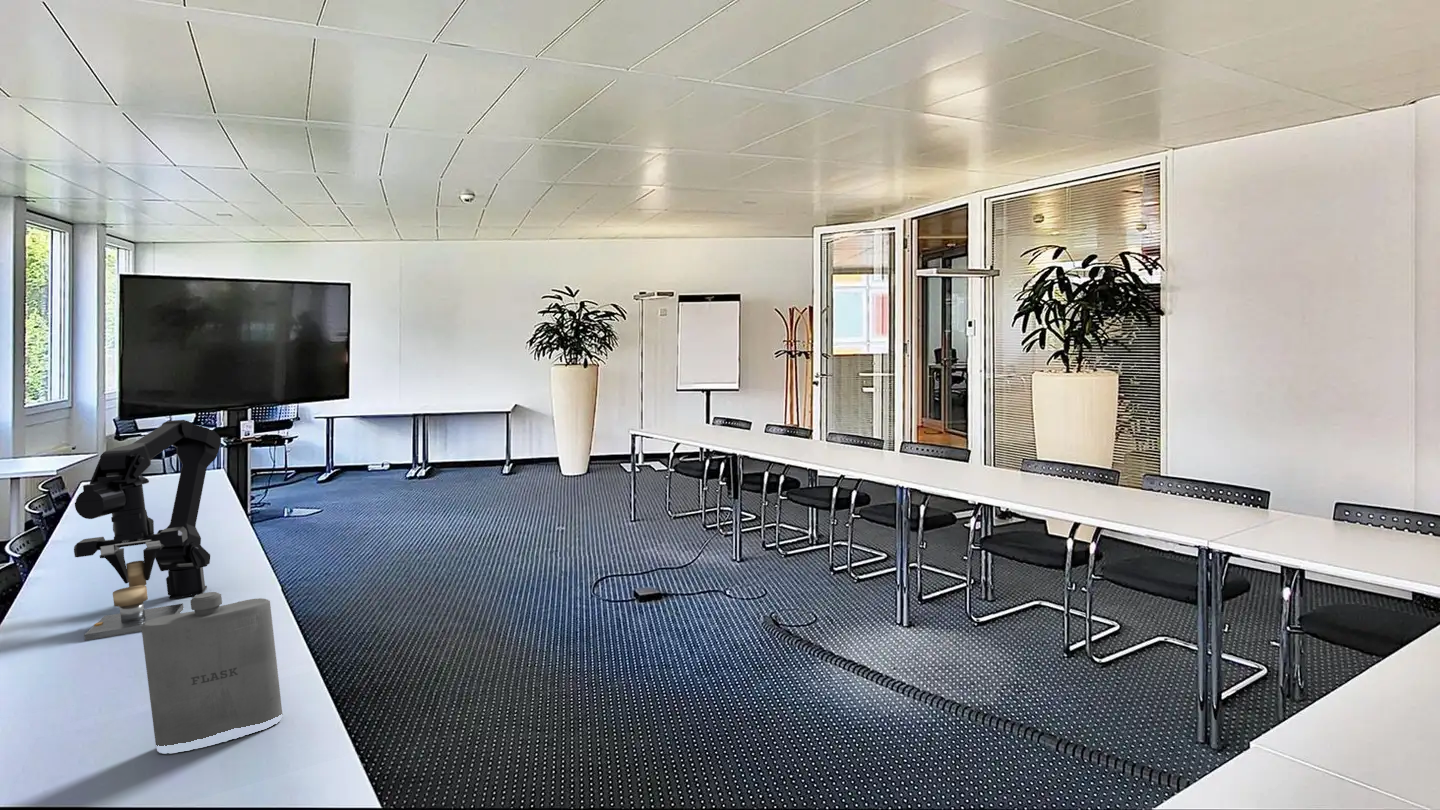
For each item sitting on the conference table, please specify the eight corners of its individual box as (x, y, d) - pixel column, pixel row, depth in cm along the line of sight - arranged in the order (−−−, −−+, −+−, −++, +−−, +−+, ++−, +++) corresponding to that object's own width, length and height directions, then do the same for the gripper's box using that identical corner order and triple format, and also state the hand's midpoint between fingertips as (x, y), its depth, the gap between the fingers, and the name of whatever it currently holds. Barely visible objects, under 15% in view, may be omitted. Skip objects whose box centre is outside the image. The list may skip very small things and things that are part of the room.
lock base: (183, 608, 175) (181, 588, 175) (169, 626, 163) (167, 605, 163) (105, 621, 169) (102, 600, 169) (84, 640, 158) (82, 618, 157)
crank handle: (143, 603, 164) (139, 569, 164) (110, 608, 162) (106, 574, 161) (156, 590, 174) (152, 558, 173) (125, 595, 171) (121, 563, 171)
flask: (155, 762, 105) (136, 612, 104) (157, 745, 110) (140, 601, 109) (284, 727, 113) (269, 587, 112) (281, 712, 118) (266, 578, 117)
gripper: (188, 497, 181) (196, 565, 182) (86, 508, 174) (95, 580, 175) (177, 504, 171) (186, 577, 172) (68, 517, 163) (78, 593, 165)
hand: (137, 581), depth 171 cm, fingers open, 3 cm apart
